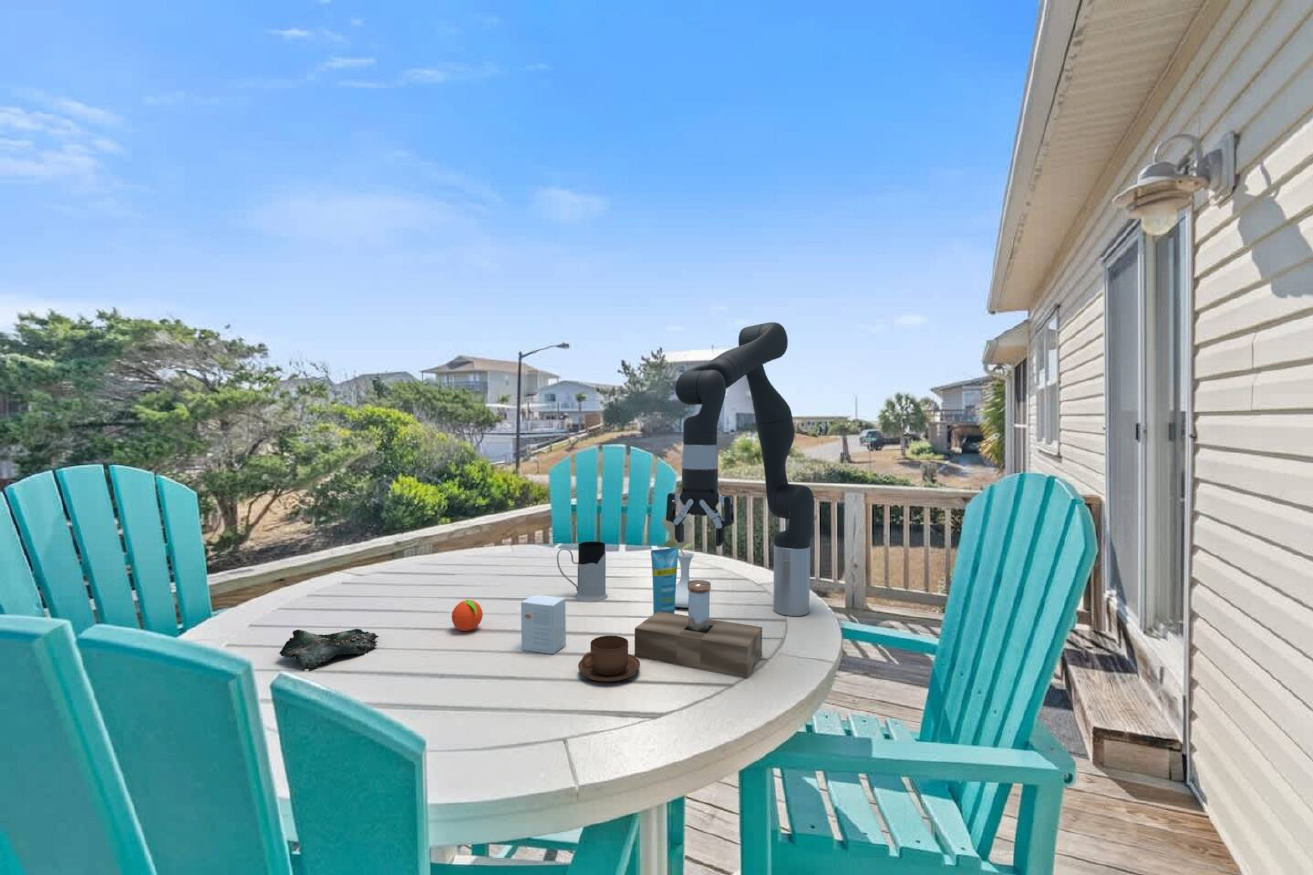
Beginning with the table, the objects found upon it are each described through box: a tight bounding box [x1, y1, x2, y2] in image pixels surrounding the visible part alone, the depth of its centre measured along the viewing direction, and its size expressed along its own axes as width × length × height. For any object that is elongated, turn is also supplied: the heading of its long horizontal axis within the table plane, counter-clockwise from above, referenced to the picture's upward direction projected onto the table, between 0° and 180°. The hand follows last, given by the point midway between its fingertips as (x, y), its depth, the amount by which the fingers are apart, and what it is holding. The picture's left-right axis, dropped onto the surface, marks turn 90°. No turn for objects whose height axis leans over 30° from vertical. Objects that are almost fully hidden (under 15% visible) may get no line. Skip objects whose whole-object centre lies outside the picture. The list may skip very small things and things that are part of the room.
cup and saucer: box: [577, 635, 641, 683], centre depth 110 cm, size 12×12×6 cm
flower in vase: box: [661, 511, 695, 609], centre depth 153 cm, size 13×11×25 cm
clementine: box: [451, 599, 484, 632], centre depth 132 cm, size 8×7×7 cm
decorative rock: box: [278, 628, 380, 672], centre depth 120 cm, size 19×6×15 cm
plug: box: [687, 579, 711, 633], centre depth 118 cm, size 5×5×14 cm
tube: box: [650, 546, 680, 615], centre depth 134 cm, size 7×5×19 cm, turn 123°
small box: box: [520, 594, 567, 655], centre depth 122 cm, size 8×6×10 cm
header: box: [634, 611, 763, 679], centre depth 118 cm, size 12×24×6 cm, turn 66°
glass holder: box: [556, 541, 608, 603], centre depth 159 cm, size 9×14×15 cm, turn 89°
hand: (699, 543), depth 118 cm, fingers open, 8 cm apart
